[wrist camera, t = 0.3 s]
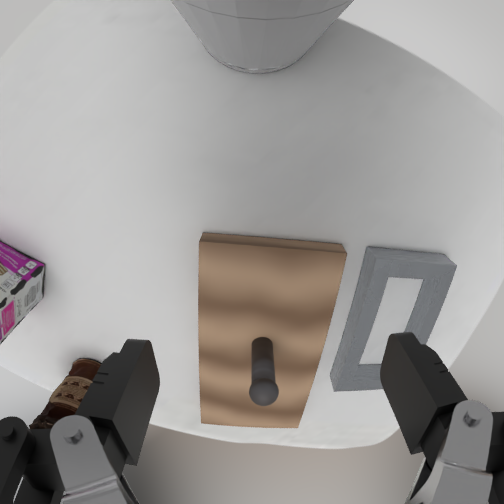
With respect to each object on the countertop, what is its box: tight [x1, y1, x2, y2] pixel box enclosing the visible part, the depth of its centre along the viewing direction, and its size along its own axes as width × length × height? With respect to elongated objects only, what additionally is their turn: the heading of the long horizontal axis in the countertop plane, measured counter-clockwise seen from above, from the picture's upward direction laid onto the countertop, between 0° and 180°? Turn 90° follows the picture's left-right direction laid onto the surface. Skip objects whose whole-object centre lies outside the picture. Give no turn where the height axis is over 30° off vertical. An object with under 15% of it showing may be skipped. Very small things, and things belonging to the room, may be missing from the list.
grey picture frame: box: [330, 247, 457, 391], centre depth 30 cm, size 16×9×3 cm, turn 175°
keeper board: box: [198, 233, 347, 428], centre depth 28 cm, size 24×12×9 cm, turn 175°
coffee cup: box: [29, 359, 101, 429], centre depth 29 cm, size 9×8×13 cm
